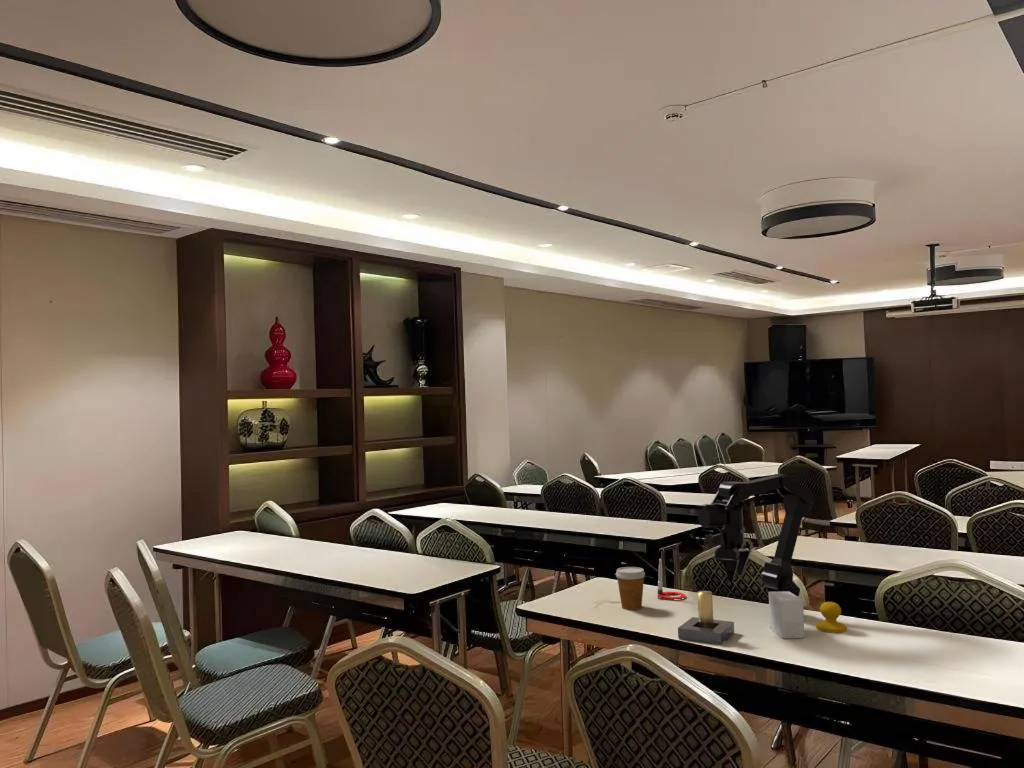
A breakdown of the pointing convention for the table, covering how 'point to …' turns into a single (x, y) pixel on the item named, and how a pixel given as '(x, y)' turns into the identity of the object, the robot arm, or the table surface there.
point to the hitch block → (706, 631)
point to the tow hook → (660, 591)
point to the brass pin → (705, 609)
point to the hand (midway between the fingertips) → (735, 578)
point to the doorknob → (831, 619)
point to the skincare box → (786, 614)
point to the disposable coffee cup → (630, 586)
